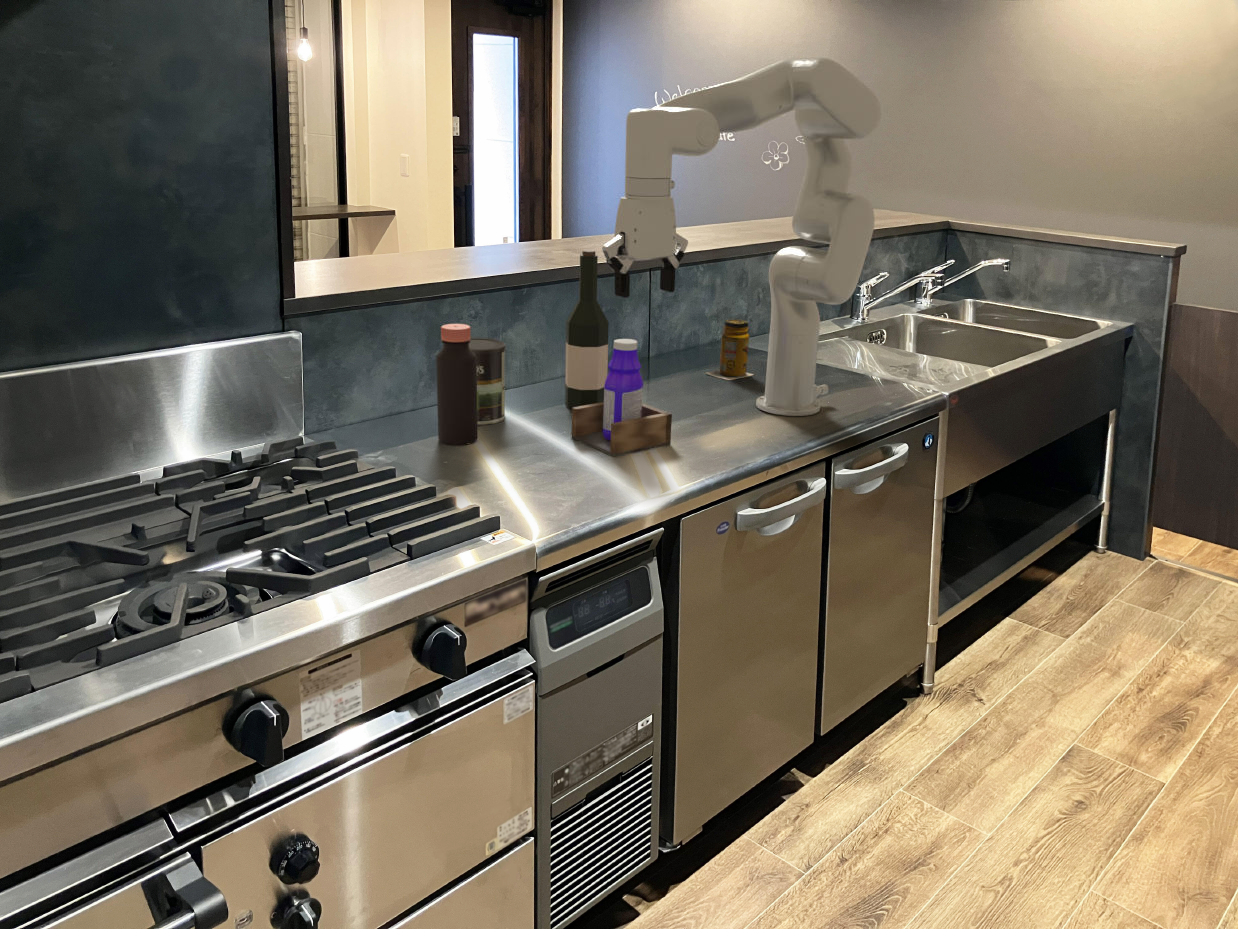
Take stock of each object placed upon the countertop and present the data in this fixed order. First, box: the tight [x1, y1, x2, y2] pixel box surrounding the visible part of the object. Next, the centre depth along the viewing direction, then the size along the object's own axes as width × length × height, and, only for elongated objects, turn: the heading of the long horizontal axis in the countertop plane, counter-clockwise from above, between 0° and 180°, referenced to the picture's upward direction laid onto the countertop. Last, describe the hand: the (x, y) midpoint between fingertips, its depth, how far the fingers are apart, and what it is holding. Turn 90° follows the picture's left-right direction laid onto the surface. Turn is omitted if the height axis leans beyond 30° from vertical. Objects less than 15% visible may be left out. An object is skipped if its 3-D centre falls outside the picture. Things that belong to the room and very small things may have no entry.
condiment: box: [705, 318, 755, 381], centre depth 229 cm, size 7×8×12 cm
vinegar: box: [435, 323, 479, 446], centre depth 178 cm, size 7×7×20 cm
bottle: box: [603, 338, 644, 440], centre depth 180 cm, size 7×6×17 cm
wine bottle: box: [564, 249, 610, 410], centre depth 199 cm, size 8×8×30 cm
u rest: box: [571, 402, 673, 458], centre depth 182 cm, size 12×12×6 cm
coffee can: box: [469, 337, 506, 426], centre depth 192 cm, size 10×10×14 cm
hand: (644, 293), depth 175 cm, fingers open, 9 cm apart
